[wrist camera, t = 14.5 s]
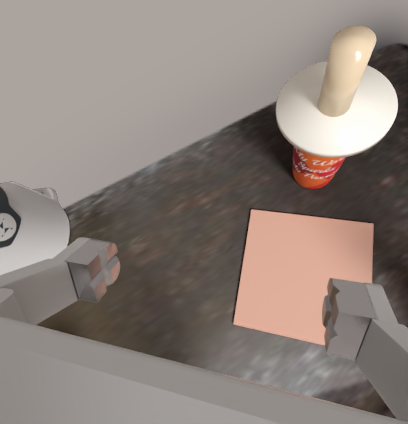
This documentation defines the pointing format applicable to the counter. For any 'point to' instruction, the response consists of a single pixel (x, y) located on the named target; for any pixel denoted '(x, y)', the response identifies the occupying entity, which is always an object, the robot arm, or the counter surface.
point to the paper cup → (314, 169)
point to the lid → (338, 100)
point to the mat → (298, 270)
